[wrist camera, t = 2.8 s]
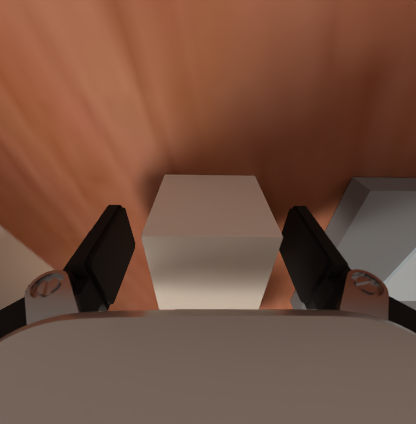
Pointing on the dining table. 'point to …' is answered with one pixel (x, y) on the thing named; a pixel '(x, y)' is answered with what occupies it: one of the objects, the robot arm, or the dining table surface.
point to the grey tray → (378, 233)
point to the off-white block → (210, 242)
